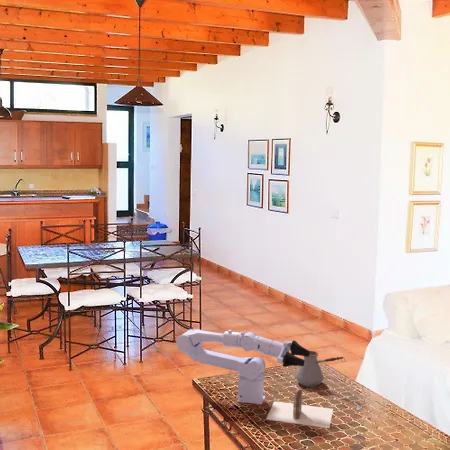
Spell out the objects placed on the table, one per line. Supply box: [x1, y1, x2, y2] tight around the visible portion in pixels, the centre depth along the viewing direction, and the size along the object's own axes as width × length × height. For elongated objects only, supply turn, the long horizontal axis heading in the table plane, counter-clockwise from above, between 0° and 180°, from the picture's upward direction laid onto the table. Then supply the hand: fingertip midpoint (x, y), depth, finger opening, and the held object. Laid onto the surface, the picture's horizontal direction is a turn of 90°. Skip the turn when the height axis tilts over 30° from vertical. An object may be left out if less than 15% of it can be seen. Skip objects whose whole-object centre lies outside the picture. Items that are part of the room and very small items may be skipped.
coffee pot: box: [295, 350, 346, 388], centre depth 239 cm, size 21×12×15 cm, turn 48°
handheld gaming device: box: [328, 394, 363, 412], centre depth 223 cm, size 9×1×15 cm
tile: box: [293, 389, 303, 419], centre depth 212 cm, size 2×7×8 cm, turn 165°
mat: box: [265, 400, 334, 429], centre depth 213 cm, size 22×16×1 cm
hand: (306, 358), depth 217 cm, fingers open, 7 cm apart
